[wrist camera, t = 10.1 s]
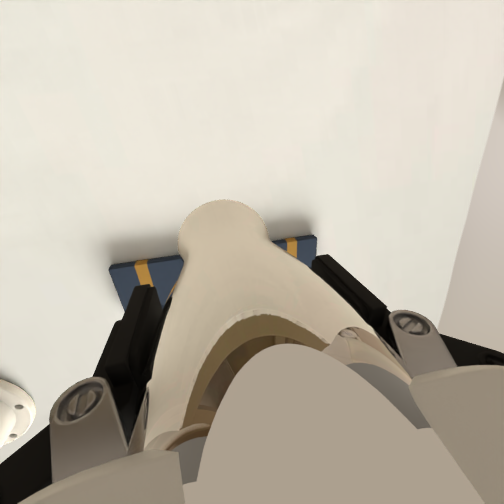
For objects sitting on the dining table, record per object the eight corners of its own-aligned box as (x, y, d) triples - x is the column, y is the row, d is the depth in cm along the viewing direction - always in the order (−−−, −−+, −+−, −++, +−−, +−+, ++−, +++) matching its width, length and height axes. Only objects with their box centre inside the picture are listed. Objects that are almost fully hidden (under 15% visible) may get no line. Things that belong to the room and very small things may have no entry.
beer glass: (163, 193, 14) (-217, 981, 1) (276, 190, 16) (731, 496, 2) (177, 290, 17) (129, 800, 4) (270, 280, 19) (457, 633, 5)
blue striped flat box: (129, 311, 27) (126, 318, 26) (111, 264, 24) (107, 269, 23) (310, 278, 31) (314, 283, 30) (313, 234, 28) (317, 237, 27)
